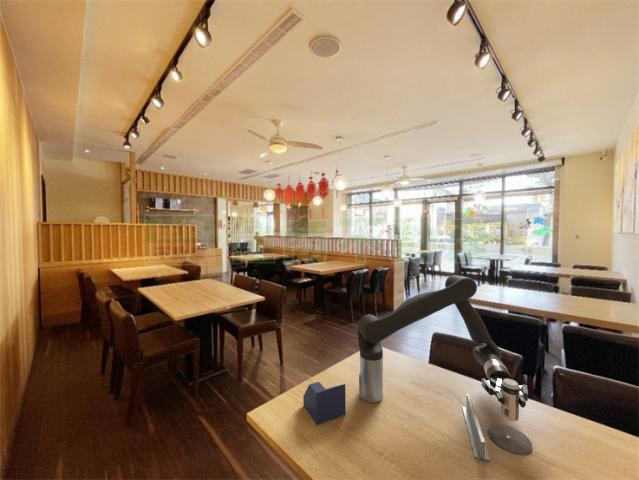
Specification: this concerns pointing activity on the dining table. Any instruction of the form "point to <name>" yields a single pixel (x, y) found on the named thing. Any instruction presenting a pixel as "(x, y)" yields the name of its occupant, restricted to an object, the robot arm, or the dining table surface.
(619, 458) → the dining table surface
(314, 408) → the phone stand
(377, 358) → the robot arm
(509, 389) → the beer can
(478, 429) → the low wall
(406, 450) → the dining table surface
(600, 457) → the dining table surface
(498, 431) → the coaster
